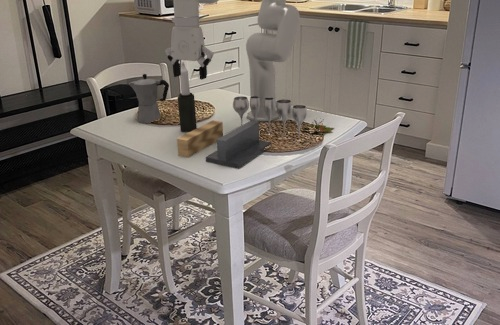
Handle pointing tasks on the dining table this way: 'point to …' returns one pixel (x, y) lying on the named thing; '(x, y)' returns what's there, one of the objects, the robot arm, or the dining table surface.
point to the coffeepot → (148, 98)
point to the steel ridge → (238, 146)
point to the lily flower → (322, 127)
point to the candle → (186, 103)
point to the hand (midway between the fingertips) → (190, 77)
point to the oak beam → (199, 138)
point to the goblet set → (271, 109)
